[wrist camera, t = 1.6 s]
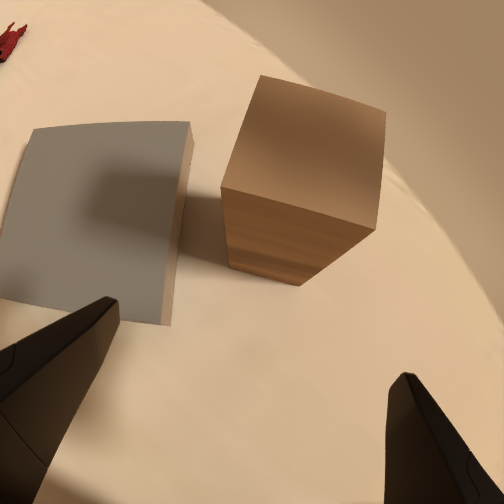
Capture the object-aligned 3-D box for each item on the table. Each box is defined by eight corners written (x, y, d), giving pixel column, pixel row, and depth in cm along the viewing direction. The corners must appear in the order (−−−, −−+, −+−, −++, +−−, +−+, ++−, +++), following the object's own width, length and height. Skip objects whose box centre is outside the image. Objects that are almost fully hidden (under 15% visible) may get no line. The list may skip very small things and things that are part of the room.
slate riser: (170, 326, 21) (160, 325, 18) (12, 300, 21) (-10, 295, 18) (194, 143, 25) (189, 121, 22) (48, 146, 24) (33, 129, 21)
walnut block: (299, 286, 22) (375, 229, 10) (229, 267, 22) (220, 186, 10) (314, 220, 24) (386, 111, 11) (247, 202, 24) (260, 75, 11)
